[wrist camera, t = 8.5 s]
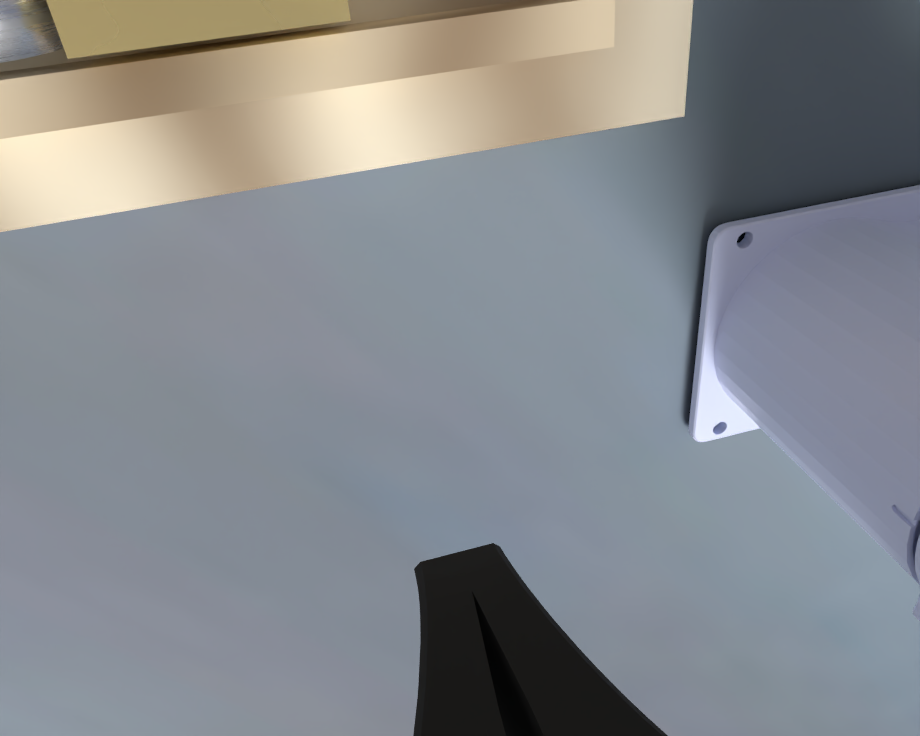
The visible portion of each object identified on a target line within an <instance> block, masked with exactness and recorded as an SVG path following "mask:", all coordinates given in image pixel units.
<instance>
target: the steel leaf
mask: <svg viewBox="0 0 920 736" xmlns="http://www.w3.org/2000/svg"><path fill="white" fill-rule="evenodd" d="M62 48H64V47H63V45H62V42H61V39H60V37H59V34H58V31H57V28H56V26H55V23H54V20H53V18H52V15H51V12H50V10H49V7H48V4H47V1H46V0H0V63H3V62H8V61H14V60H19V59H24V58H29V57H33V56H38V55H42V54H46V53H50V52H53V51H56V50H59V49H62Z"/></svg>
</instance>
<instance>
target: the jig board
mask: <svg viewBox="0 0 920 736" xmlns="http://www.w3.org/2000/svg"><path fill="white" fill-rule="evenodd" d="M348 6H349V12H350V18H351V21H344V22H336V23H329V24H322V25H314V26H307V27H300V28H292V29H285V30H277V31H270V32H263V33H255V34H248V35H241V36H233V37H226V38H218V39H211V40H204V41H196V42H189V43H181V44H174V45H167V46H159V47H152V48H145V49H137V50H130V51H122V52H115V53H108V54H100V55H93V56H86V57H78V58H71V59H68V58H67V56H66V53H65V50H64V48H62V49H59V50H56V51H53V52H50V53H46V54H42V55H38V56H33V57H29V58H24V59H19V60H14V61H8V62H3V63H0V232H4V231H9V230H15V229H21V228H27V227H33V226H39V225H45V224H51V223H57V222H63V221H69V220H75V219H80V218H86V217H92V216H98V215H104V214H110V213H116V212H122V211H128V210H134V209H140V208H145V207H151V206H157V205H163V204H169V203H175V202H181V201H187V200H193V199H199V198H205V197H211V196H216V195H222V194H228V193H234V192H240V191H246V190H252V189H258V188H264V187H270V186H276V185H281V184H287V183H293V182H299V181H305V180H311V179H317V178H323V177H329V176H335V175H341V174H347V173H352V172H358V171H364V170H370V169H376V168H382V167H388V166H394V165H400V164H406V163H412V162H417V161H423V160H429V159H435V158H441V157H447V156H453V155H459V154H465V153H471V152H477V151H483V150H488V149H494V148H500V147H506V146H512V145H518V144H524V143H530V142H536V141H542V140H548V139H553V138H559V137H565V136H571V135H577V134H583V133H589V132H595V131H601V130H607V129H613V128H619V127H624V126H630V125H636V124H642V123H648V122H654V121H660V120H666V119H672V118H678V117H684V116H685V103H686V89H687V76H688V63H689V50H690V37H691V24H692V10H693V0H348Z"/></svg>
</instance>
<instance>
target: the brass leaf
mask: <svg viewBox="0 0 920 736" xmlns="http://www.w3.org/2000/svg"><path fill="white" fill-rule="evenodd" d="M46 1H47V4H48V7H49V10H50V12H51V15H52V18H53V20H54V23H55V26H56V28H57V31H58V34H59V37H60V39H61V42H62V45H63V47H64V50H65V53H66V56H67V58H68V59H71V58H78V57H86V56H93V55H100V54H108V53H115V52H122V51H130V50H137V49H145V48H152V47H159V46H167V45H174V44H181V43H189V42H196V41H204V40H211V39H218V38H226V37H233V36H241V35H248V34H255V33H263V32H270V31H277V30H285V29H292V28H300V27H307V26H314V25H322V24H329V23H336V22H344V21H351V18H350V12H349V6H348V0H46Z"/></svg>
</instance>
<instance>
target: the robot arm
mask: <svg viewBox="0 0 920 736" xmlns="http://www.w3.org/2000/svg"><path fill="white" fill-rule="evenodd" d="M744 232H745V233H746V234H745V237H744V239H743V240H742V241H741V242H739V243H737V240H738V237H739V236H740V235H741V234H742V233H744ZM718 423H719V424H718ZM716 424H718V425H717V426H715V425H716ZM714 426H715V427H714ZM758 428H761V429H762V430H763V431H764V432H765V433H766V434H767V435H768V436H769V437H770V438H771V439H772V440H773V441H774V442H775V443H776V444H777V445H778V446H779V447H780V448H781V449H782V450H783V451H784V452H785V453H786V454H787V455H788V456H789V457H790V458H791V459H792V460H793V461H794V462H795V463H796V464H797V465H798V466H799V467H800V468H801V469H802V470H803V471H804V472H805V473H807V474H808V475H809V476H810V477H811V478H812V479H813V480H814V481H815V482H816V483H817V484H818V485H819V486H820V487H821V488H822V489H823V490H824V491H825V492H826V493H827V494H828V495H829V496H830V497H831V498H832V499H833V500H834V501H835V502H836V503H837V504H838V505H839V506H840V507H841V508H842V509H843V510H844V511H845V512H846V513H847V514H848V515H849V516H850V517H851V518H852V519H853V520H854V521H855V522H856V523H857V524H858V525H859V526H860V527H861V528H862V529H864V530H865V531H866V532H867V533H868V534H869V535H870V536H871V537H872V538H873V539H874V540H875V541H876V542H877V543H878V544H879V545H880V546H881V547H882V548H883V549H884V550H885V551H886V552H887V553H888V554H889V555H890V556H891V557H892V558H893V559H894V560H895V561H896V562H897V563H898V564H899V565H900V566H901V567H902V568H903V569H904V570H905V571H906V572H907V573H908V574H909V575H910V576H911V577H912V578H913V579H914V580H915V581H916V582H917V583H918V584H919V585H920V185H916V186H911V187H906V188H901V189H896V190H891V191H886V192H881V193H876V194H870V195H865V196H860V197H855V198H850V199H845V200H840V201H835V202H830V203H825V204H819V205H814V206H809V207H804V208H799V209H794V210H789V211H784V212H779V213H774V214H769V215H763V216H758V217H753V218H748V219H743V220H738V221H733V222H728V223H724V224H721V225H719V226H718V227H716V228H715V229H714V230H713V231H712V233H711V234H710V236H709V239H708V244H707V254H706V263H705V273H704V283H703V292H702V302H701V312H700V322H699V331H698V341H697V351H696V360H695V370H694V380H693V389H692V399H691V409H690V419H689V428H688V429H689V433H690V435H691V436H692V437H693V438H694V439H695V440H696V441H698V442H706V441H710V440H714V439H718V438H722V437H726V436H730V435H734V434H738V433H742V432H746V431H750V430H754V429H758ZM414 570H415V575H416V580H417V585H418V591H419V601H420V622H421V646H420V667H419V687H418V699H417V709H416V718H415V727H414V736H667V735H666V734H665V733H664V732H663V731H662V730H661V729H660V728H658V727H657V726H656V725H655V724H654V723H653V722H652V721H651V720H650V719H648V718H647V717H646V716H645V715H644V714H643V713H642V712H641V711H640V710H639V709H638V708H637V707H636V706H635V705H634V704H633V703H632V702H631V701H630V700H628V699H627V698H626V697H625V696H624V695H623V694H622V693H621V692H620V691H619V690H618V689H617V688H616V687H615V686H614V685H613V684H612V683H611V682H610V681H609V680H608V679H607V678H606V677H605V675H604V674H603V673H602V672H601V671H600V670H599V669H598V668H597V667H596V666H595V665H594V664H593V663H592V662H591V661H590V660H589V659H588V658H587V657H586V656H585V654H584V653H583V652H582V651H581V650H580V649H579V648H578V647H577V646H576V644H575V643H574V642H573V641H572V640H571V639H570V638H569V637H568V635H567V634H566V633H565V632H564V631H563V630H562V629H561V627H560V626H559V625H558V624H557V623H556V622H555V621H554V619H553V618H552V617H551V616H550V615H549V613H548V612H547V611H546V610H545V609H544V607H543V606H542V605H541V604H540V602H539V601H538V600H537V598H536V597H535V596H534V595H533V593H532V592H531V591H530V590H529V588H528V587H527V586H526V584H525V583H524V582H523V580H522V579H521V578H520V576H519V575H518V573H517V572H516V571H515V569H514V568H513V566H512V565H511V563H510V562H509V560H508V559H507V557H506V556H505V554H504V553H503V551H502V549H501V548H500V547H499V546H498V545H496V544H494V543H492V544H488V545H484V546H480V547H477V548H473V549H469V550H465V551H461V552H457V553H453V554H450V555H446V556H442V557H438V558H434V559H430V560H426V561H422V562H420V563H419V564H418V565H417V566H416V567H415V569H414ZM913 615H914V616H915V617H916V618H917V619H918V620H919V621H920V595H919V599H918V601H917V603H916V605H915V607H914V609H913Z"/></svg>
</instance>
